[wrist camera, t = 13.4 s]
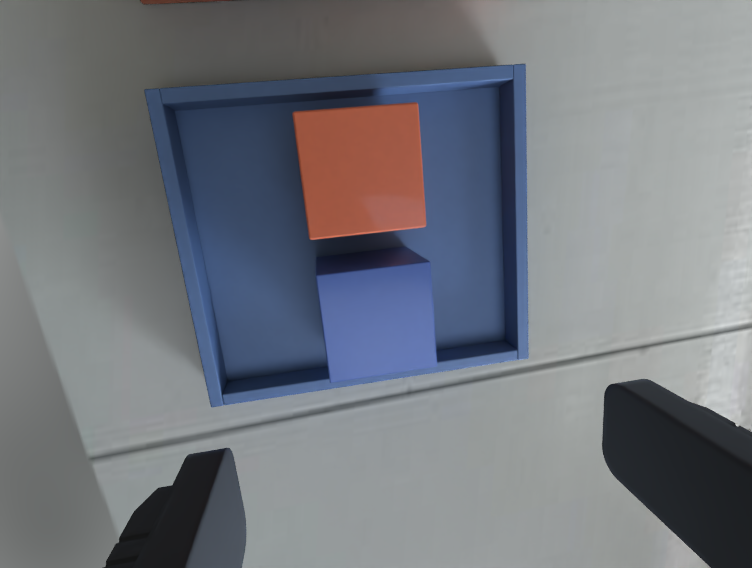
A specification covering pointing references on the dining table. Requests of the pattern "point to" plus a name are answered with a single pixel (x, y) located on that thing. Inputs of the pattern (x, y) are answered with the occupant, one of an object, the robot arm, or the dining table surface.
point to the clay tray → (174, 1)
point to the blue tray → (298, 253)
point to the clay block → (361, 169)
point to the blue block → (376, 313)
